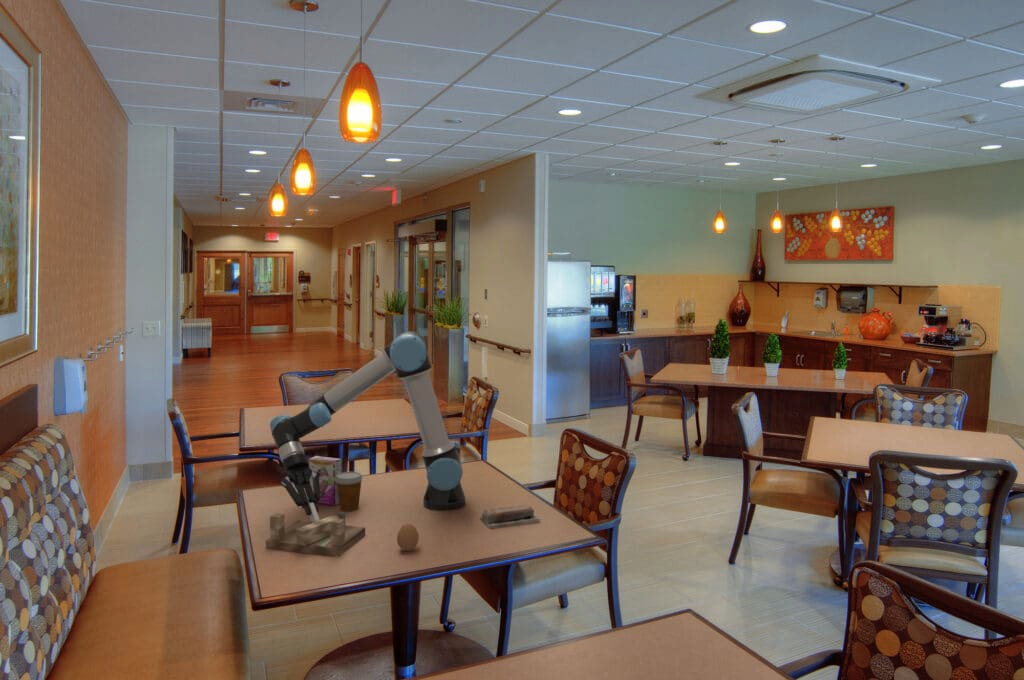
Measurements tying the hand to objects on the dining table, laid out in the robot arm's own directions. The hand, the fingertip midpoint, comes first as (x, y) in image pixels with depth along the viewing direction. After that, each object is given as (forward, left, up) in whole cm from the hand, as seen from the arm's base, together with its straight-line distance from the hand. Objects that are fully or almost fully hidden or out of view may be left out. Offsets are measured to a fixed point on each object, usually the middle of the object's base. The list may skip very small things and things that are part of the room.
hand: (316, 523), depth 219 cm
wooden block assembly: (0, 0, -6) cm, 6 cm away
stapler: (-53, -34, -7) cm, 63 cm away
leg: (-2, +3, -3) cm, 5 cm away
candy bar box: (+16, -34, -6) cm, 39 cm away
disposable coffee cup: (+5, -31, -6) cm, 32 cm away
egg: (-30, -1, -6) cm, 31 cm away
